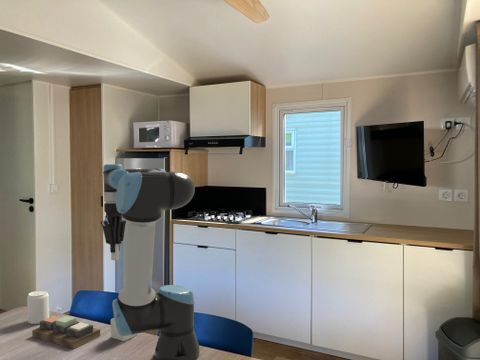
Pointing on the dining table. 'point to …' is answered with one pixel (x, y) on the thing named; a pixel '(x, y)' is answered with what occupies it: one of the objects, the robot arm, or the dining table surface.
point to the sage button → (65, 321)
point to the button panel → (65, 334)
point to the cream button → (79, 326)
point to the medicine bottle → (116, 335)
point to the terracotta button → (51, 319)
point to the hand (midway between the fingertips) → (115, 259)
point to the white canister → (37, 306)
